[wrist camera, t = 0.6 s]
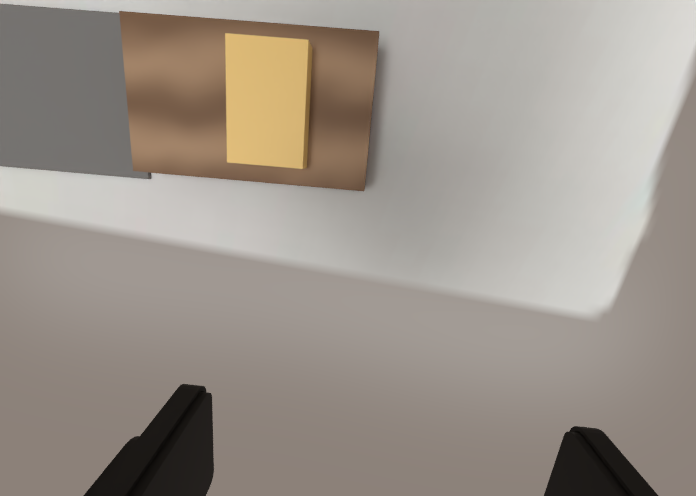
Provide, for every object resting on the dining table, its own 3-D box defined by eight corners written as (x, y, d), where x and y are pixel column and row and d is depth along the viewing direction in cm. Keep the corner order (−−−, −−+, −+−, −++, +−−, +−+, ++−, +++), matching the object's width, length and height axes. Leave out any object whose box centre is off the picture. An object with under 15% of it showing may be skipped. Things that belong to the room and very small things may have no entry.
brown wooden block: (151, 30, 30) (119, 11, 26) (377, 47, 29) (379, 31, 25) (160, 169, 33) (133, 171, 29) (364, 186, 32) (364, 191, 29)
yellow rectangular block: (235, 42, 26) (225, 33, 24) (312, 48, 26) (308, 39, 24) (236, 161, 28) (226, 162, 26) (306, 168, 28) (302, 168, 26)
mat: (-62, 0, 30) (-67, -2, 29) (138, 16, 29) (135, 14, 29) (-27, 163, 33) (-32, 163, 33) (150, 178, 33) (148, 179, 33)
